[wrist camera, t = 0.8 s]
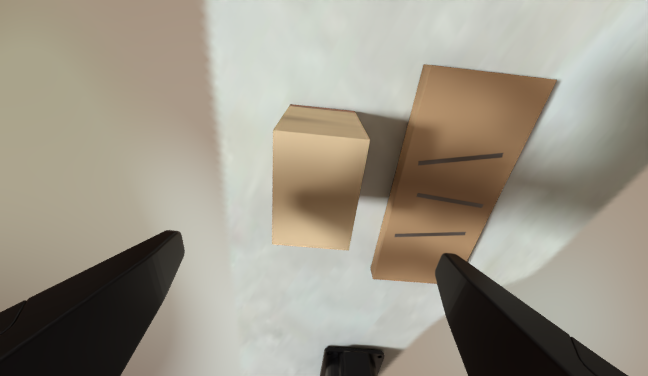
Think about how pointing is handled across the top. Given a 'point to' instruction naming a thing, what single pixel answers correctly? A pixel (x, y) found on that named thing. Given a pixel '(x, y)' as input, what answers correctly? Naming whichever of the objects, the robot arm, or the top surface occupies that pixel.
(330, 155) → the block
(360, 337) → the top surface
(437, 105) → the board
